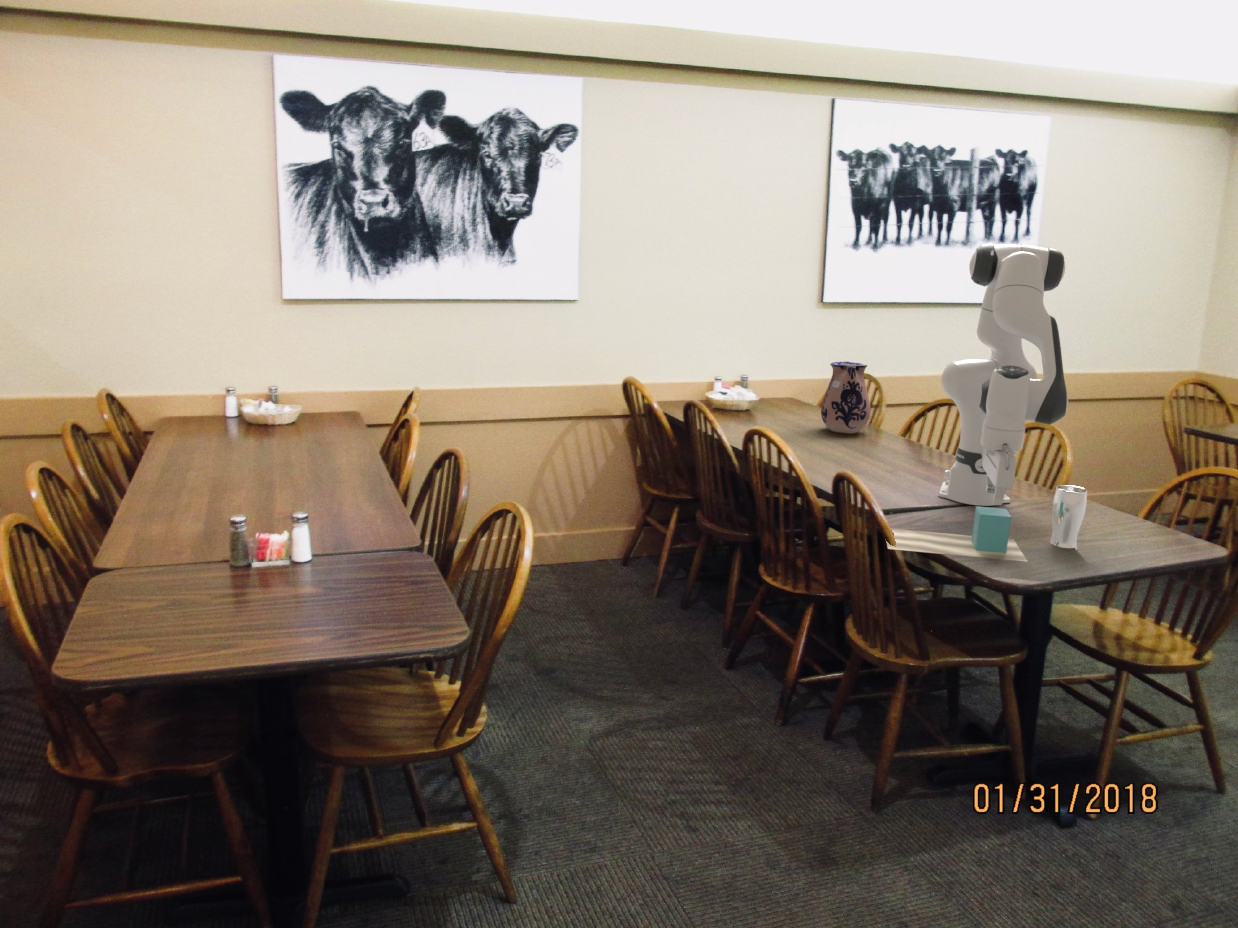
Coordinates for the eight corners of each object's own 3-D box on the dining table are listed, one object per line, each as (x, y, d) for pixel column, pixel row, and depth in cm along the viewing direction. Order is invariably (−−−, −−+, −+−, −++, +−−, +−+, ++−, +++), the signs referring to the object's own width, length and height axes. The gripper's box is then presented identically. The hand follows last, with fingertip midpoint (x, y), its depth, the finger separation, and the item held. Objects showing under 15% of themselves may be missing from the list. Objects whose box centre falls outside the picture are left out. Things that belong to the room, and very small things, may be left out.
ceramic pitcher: (827, 436, 340) (833, 366, 334) (811, 424, 360) (816, 358, 354) (875, 437, 342) (882, 368, 335) (856, 425, 362) (862, 359, 356)
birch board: (882, 533, 232) (883, 527, 231) (1013, 545, 226) (1013, 539, 226) (887, 554, 216) (887, 548, 216) (1026, 568, 211) (1027, 561, 210)
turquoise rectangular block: (971, 541, 223) (975, 506, 221) (1000, 544, 222) (1005, 508, 220) (975, 550, 217) (980, 514, 215) (1006, 553, 216) (1011, 516, 214)
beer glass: (1063, 556, 220) (1073, 493, 216) (1039, 546, 226) (1048, 486, 222) (1085, 553, 222) (1095, 491, 219) (1061, 543, 228) (1070, 483, 225)
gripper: (1026, 451, 203) (1017, 513, 206) (1008, 430, 222) (1000, 487, 226) (995, 449, 204) (986, 510, 208) (980, 428, 223) (972, 485, 227)
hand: (993, 498), depth 217 cm, fingers open, 8 cm apart
